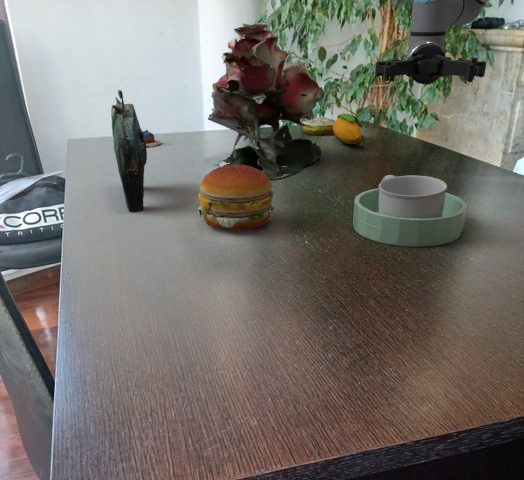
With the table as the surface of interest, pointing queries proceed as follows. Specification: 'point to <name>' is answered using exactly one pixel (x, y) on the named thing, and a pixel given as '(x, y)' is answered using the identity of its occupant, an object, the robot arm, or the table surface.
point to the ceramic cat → (129, 152)
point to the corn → (348, 129)
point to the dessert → (150, 139)
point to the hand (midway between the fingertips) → (431, 73)
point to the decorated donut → (319, 126)
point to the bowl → (408, 223)
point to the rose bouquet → (265, 102)
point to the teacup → (412, 196)
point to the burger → (236, 198)
